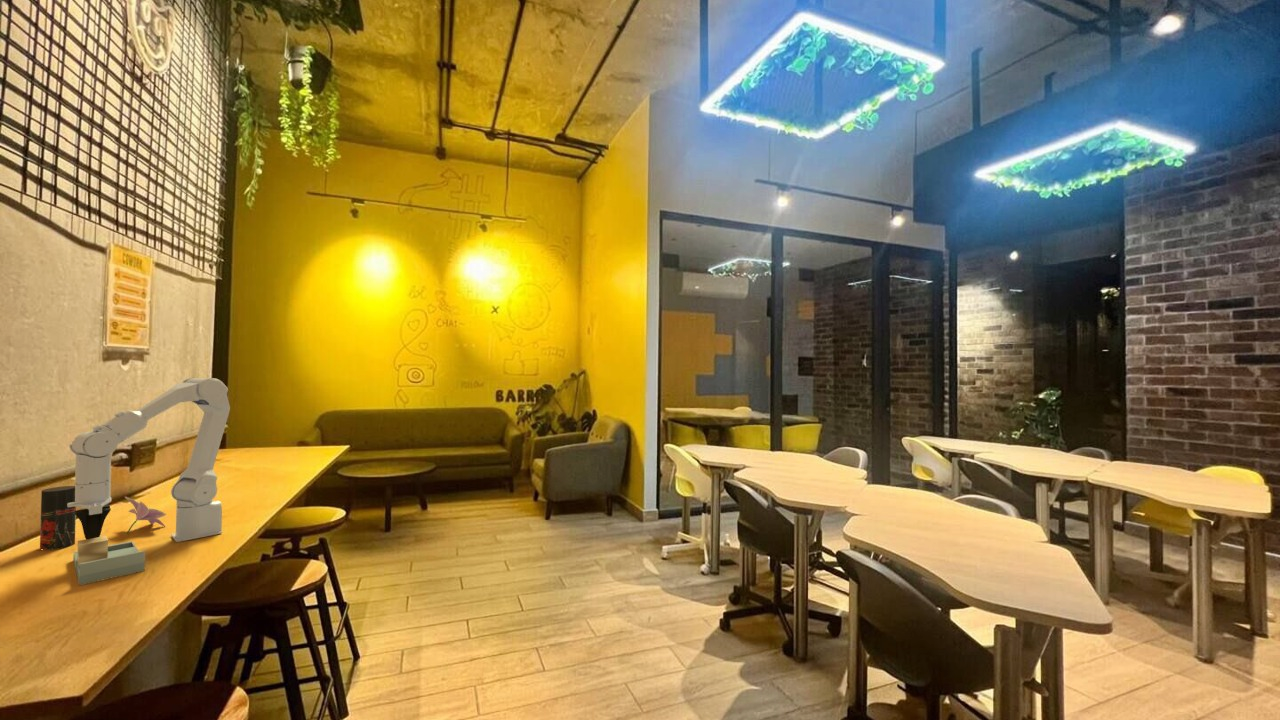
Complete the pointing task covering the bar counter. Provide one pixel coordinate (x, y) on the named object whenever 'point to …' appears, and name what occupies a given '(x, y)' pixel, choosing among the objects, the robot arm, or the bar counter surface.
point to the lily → (145, 513)
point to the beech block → (92, 549)
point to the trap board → (111, 563)
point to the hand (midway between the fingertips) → (92, 538)
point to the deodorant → (57, 518)
